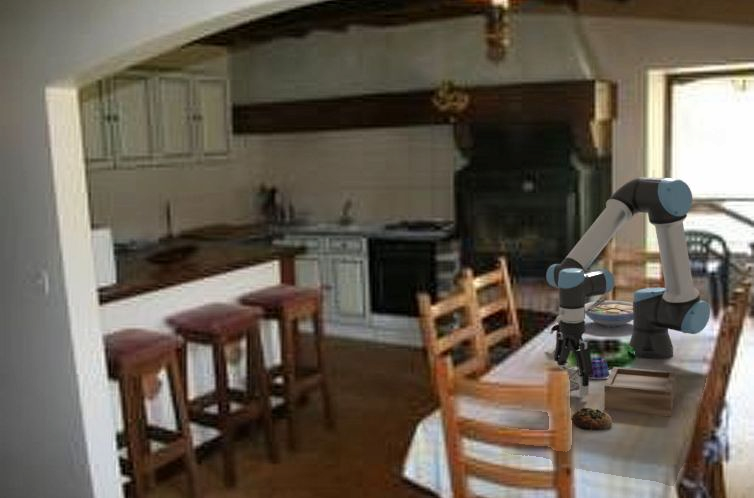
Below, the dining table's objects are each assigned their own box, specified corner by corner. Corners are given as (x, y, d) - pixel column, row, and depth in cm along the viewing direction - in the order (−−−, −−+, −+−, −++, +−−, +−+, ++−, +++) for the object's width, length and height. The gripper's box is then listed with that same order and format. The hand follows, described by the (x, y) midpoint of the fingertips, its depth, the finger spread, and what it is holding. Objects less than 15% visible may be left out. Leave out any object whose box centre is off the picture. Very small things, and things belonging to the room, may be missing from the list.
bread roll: (567, 428, 213) (568, 410, 213) (575, 418, 223) (575, 401, 223) (609, 434, 208) (610, 416, 208) (614, 424, 219) (615, 407, 218)
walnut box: (613, 388, 241) (613, 366, 240) (675, 394, 234) (675, 371, 232) (604, 409, 225) (604, 385, 224) (670, 416, 217) (670, 391, 216)
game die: (579, 404, 237) (590, 385, 230) (552, 394, 238) (562, 375, 231) (583, 381, 243) (594, 362, 236) (557, 372, 244) (567, 353, 237)
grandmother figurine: (571, 347, 286) (571, 314, 284) (571, 350, 283) (570, 316, 280) (550, 346, 289) (550, 313, 287) (549, 349, 285) (549, 315, 283)
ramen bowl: (631, 335, 297) (631, 314, 296) (573, 329, 309) (573, 309, 308) (648, 320, 317) (648, 300, 316) (593, 314, 330) (593, 296, 329)
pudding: (604, 367, 263) (604, 352, 262) (622, 378, 251) (622, 362, 250) (571, 371, 260) (571, 356, 259) (588, 382, 249) (588, 367, 248)
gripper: (541, 313, 243) (543, 381, 247) (583, 330, 222) (585, 404, 226) (561, 310, 245) (563, 377, 249) (605, 326, 225) (606, 399, 228)
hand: (573, 390), depth 238 cm, fingers closed on game die, 10 cm apart
